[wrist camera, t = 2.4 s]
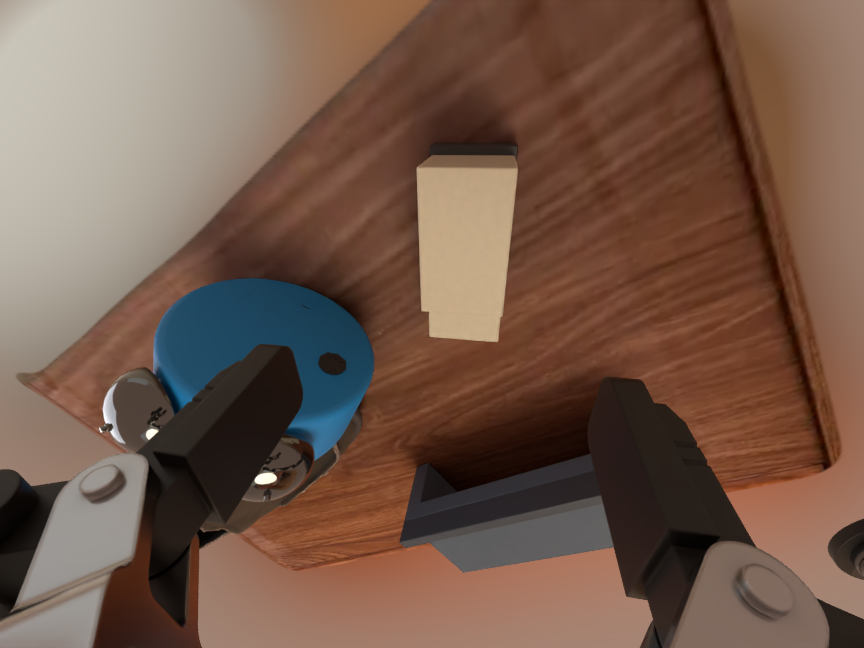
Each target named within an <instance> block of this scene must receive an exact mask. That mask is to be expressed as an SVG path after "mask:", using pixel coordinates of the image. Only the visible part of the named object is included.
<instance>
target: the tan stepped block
mask: <svg viewBox="0 0 864 648" xmlns="http://www.w3.org/2000/svg"><path fill="white" fill-rule="evenodd" d="M517 152H518V145H517V143H434V144H432V145H431V146H430V157H429V158H428V159H427V160H425V161H424V162H423V163H422V164H420V165H419V166H418V167H417V198H418V229H419V259H420V289H421V310H422V311H429V336H430V337H440V338H452V339H464V340H476V341H488V342H498V336H499V327H500V318H501V317H502V316H503V308H504V298H505V289H506V279H507V270H508V260H509V251H510V241H511V232H512V223H513V213H514V204H515V194H516V185H517V175H518V167H517V163H516V162H517Z"/></svg>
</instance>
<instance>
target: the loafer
mask: <svg viewBox="0 0 864 648" xmlns="http://www.w3.org/2000/svg"><path fill="white" fill-rule="evenodd" d="M361 426H362V416H361V413H360V411H359V409H358V408H357V410H356V411H355V413H354V415H353V417H352V419H351V421H350V423H349V425H348V427H347V428H346V430H345V432H344V434H343V435H342V436H341V438H340V439H339V440H338V441H337V443H336V444H335V445H334V446H333V447H332V448H331V449H330V450H328V451H327V452H326V453H325V454H323V455H322V456H321V457H319V458H318V459H316V460H314V465H313V468H312V471H311V473H310V475H309V476H308V477H307V479H306V480H305V482H304V483H303V484H302V485H301V486H299V487H298V488H297V489H296V490H295V491H293V492H291V493H290V494H288V495H286V496H284V497H282V498H279V499H276V500H272V501H269V502H251V501H246V500H243V499H242V500H241V501H240V503H239V504H238V506H237V507H236V509H235V511H234V512H233V514H232V515H231V517H230V518H229V520H228V521H227V523H226V525H223V524H217V523H211V522H206V521H205V522H204V523H203V525H202V526H201V528H200V529H199V531H198V532H197V535H198V538H199V549H202V548H204V547H206V546H207V545H209V544H211V543H213V542H215V541H216V540H218V539H220V538H222V537H224V536H225V535H227V534H229V533H232V534H234V535H239V534H241V533H242V532H243V531H245V530H246V529H247V528H249V527H250V526H251V525H252V524H254V523H255V522H256V521H257V520H258V519H259V518H261V517H262V516H264V515H266V514H267V513H269V512H270V511H272V510H274V509H275V508H277V507H280V506H283V507H285V506H286V505H288V504H289V503H290V502H291V501H292V500H293V499H295V498H296V497H298V495H300V494H301V493H302V492H305V491H306V490H307V488H308V487H309V486H310V485H312V484H313V483H315V482H316V481H317V480H318V479H319V478H321V477H322V476H323V475H324V476H326V475H327V474H328V472H329V470H330V469H331V468H333V466H335V464H336V463H337V462H338V460H339V459H340V457H341V454H342V453H343V452H344V451H345V450H346V449H347V448H348V446H349V445H350V444H351V443H352V442H353V441H354V439H355V438H356V437H357V435H358V434H359V432H360V430H361Z"/></svg>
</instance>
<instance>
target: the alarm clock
mask: <svg viewBox="0 0 864 648" xmlns="http://www.w3.org/2000/svg"><path fill="white" fill-rule="evenodd" d="M259 344H270V345H281V346H288V347H290V348H291V349H292V351H293V354H294V357H295V361H296V365H297V369H298V372H299V376H300V380H301V383H302V387H303V401H302V405H301V408H300V410H299V412H298V413H297V415H296V416H295V418H294V419H293V421H292V422H291V424H290V426H289V427H288V429H287V430H286V432H285V433H284V435H283V436H282V438H281V439H280V441H279V443H278V444H277V446H276V447H275V449H274V450H273V452H272V453H271V455H270V456H269V458H268V460H267V461H266V463H265V464H264V466H263V467H262V469H261V470H260V472H259V473H258V475H257V477H256V478H255V480H254V481H253V483H252V484H251V486H250V487H249V489H248V490H247V492H246V494H245V495H244V497H243V498H242V499H243V500H246V501H251V502H269V501H272V500H276V499H279V498H282V497H284V496H286V495H288V494H290V493H291V492H293V491H295V490H296V489H297V488H298V487H299V486H301V485H302V484H303V483H304V482H305V480H306V479H307V477H308V476H309V475H310V473H311V471H312V468H313V465H314V460H316V459H318V458H319V457H321V456H322V455H323V454H325V453H326V452H327V451H328V450H330V449H331V448H332V447H333V446H334V445H335V444H336V443H337V441H338V440H339V439H340V438H341V436H342V435H343V434H344V432H345V430H346V428H347V427H348V425H349V423H350V421H351V419H352V417H353V415H354V413H355V411H356V410H357V408H358V406H359V404H360V402H361V400H362V398H363V396H364V395H365V393H366V391H367V389H368V387H369V385H370V382H371V380H372V376H373V372H374V354H373V350H372V346H371V343H370V341H369V338H368V336H367V335H366V333H365V331H364V330H363V328H362V327H361V325H360V324H359V323H358V322H357V320H356V319H355V318H354V317H353V316H352V315H351V314H350V313H349V312H347V311H346V310H345V309H344V308H342V307H341V306H340V305H338V304H337V303H335V302H334V301H332V300H331V299H329V298H327V297H325V296H323V295H321V294H319V293H317V292H315V291H313V290H310V289H307V288H305V287H302V286H299V285H295V284H291V283H287V282H283V281H277V280H270V279H257V278H245V279H232V280H226V281H220V282H216V283H212V284H209V285H206V286H203V287H201V288H198V289H196V290H194V291H192V292H190V293H188V294H187V295H185V296H184V297H182V298H181V299H179V300H178V301H177V302H176V303H174V304H173V305H172V306H171V307H170V308H169V309H168V310H167V312H166V313H165V314H164V316H163V317H162V319H161V321H160V323H159V325H158V327H157V330H156V334H155V339H154V366H153V373H152V372H151V371H150V370H149V369H148V368H146V367H143V366H142V367H139V368H135V369H132V370H130V371H127V372H125V373H124V374H122V375H121V376H119V377H118V378H117V379H116V380H115V381H114V382H113V383H112V384H111V386H110V387H109V389H108V391H107V392H106V395H105V398H104V401H103V410H102V413H103V418H104V421H105V425H104V426H102V427H100V428H99V429H100V431H101V433H104V432H109V433H110V435H111V437H112V438H113V440H114V441H115V442H116V443H117V444H118V445H119V446H120V447H122V448H123V449H124V450H126V451H128V452H130V453H136V452H137V451H138V450H139V449H140V448H142V447H143V446H144V445H145V444H146V443H147V442H148V441H149V440H150V439H151V438H152V437H153V436H154V435H155V434H156V433H157V432H158V431H159V430H160V429H161V428H162V427H163V426H164V425H165V424H166V423H167V422H168V421H169V420H170V419H171V418H172V417H173V416H175V415H176V414H177V413H178V412H179V411H180V410H181V409H182V408H183V407H184V406H185V405H186V404H187V403H188V402H191V401H192V398H193V397H194V396H195V395H196V394H197V393H198V392H199V391H200V390H201V389H203V390H204V388H205V387H204V386H205V385H206V384H207V383H209V382H210V381H211V380H212V379H213V378H214V377H215V376H216V375H217V374H218V373H219V372H220V371H222V370H224V369H225V368H227V367H229V366H230V365H232V364H234V363H235V362H237V361H239V360H240V361H242V360H243V359H244V358H245V357H246V356H247V355H248V354H249V353H250V352H251V351H252V349H253V348H254V347H256V346H257V345H259Z"/></svg>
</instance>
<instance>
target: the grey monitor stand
mask: <svg viewBox="0 0 864 648" xmlns="http://www.w3.org/2000/svg"><path fill="white" fill-rule="evenodd" d="M400 543H401V544H402V545H403V546H404V547H405V548H408V547H413V546H417V545H422V544H426V543H430V544H432V545H433V546H434V547H435V548H436V549H437V550H438V551H440V552H441V553H442V554H443V555H444V556H445V557H446V558H447V559H449V560H450V561H451V562H452V563H453V564H454V565H456V566H457V567H458V568H459V569H460V570H461V571H462V572H470V571H476V570H482V569H488V568H494V567H499V566H505V565H511V564H517V563H523V562H529V561H535V560H541V559H547V558H552V557H558V556H564V555H570V554H576V553H582V552H588V551H594V550H600V549H605V548H612V547H614V546H613V542H612V538H611V534H610V530H609V526H608V522H607V518H606V514H605V510H604V506H603V502H602V498H601V494H600V490H599V486H598V482H597V478H596V474H595V470H594V466H593V462H592V458H591V454H588V455H584V456H581V457H577V458H574V459H570V460H567V461H563V462H560V463H557V464H553V465H550V466H546V467H543V468H539V469H536V470H532V471H529V472H525V473H522V474H518V475H515V476H511V477H508V478H504V479H501V480H497V481H494V482H490V483H487V484H484V485H480V486H477V487H473V488H470V489H466V490H463V491H459V492H457V491H456V490H455V489H454V488H453V487H452V486H451V485H450V484H449V483H448V482H447V481H446V480H445V479H444V478H443V477H442V476H441V475H440V474H439V473H438V472H437V471H436V470H435V469H434V468H433V467H432V466H431V465H430V464H429V463H427V464H424V465H421V466H418V467H417V469H416V473H415V478H414V482H413V486H412V491H411V495H410V499H409V503H408V508H407V513H406V517H405V522H404V525H403V530H402V534H401V538H400Z"/></svg>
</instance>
